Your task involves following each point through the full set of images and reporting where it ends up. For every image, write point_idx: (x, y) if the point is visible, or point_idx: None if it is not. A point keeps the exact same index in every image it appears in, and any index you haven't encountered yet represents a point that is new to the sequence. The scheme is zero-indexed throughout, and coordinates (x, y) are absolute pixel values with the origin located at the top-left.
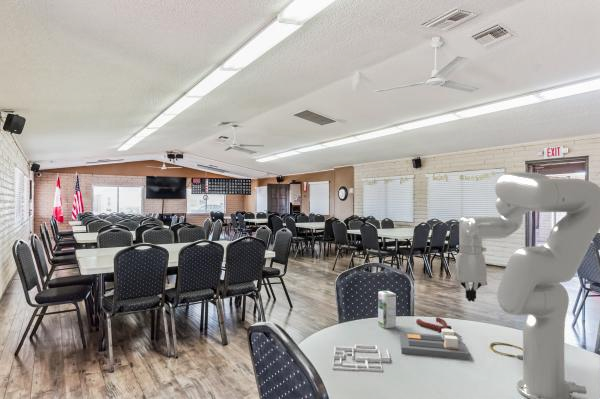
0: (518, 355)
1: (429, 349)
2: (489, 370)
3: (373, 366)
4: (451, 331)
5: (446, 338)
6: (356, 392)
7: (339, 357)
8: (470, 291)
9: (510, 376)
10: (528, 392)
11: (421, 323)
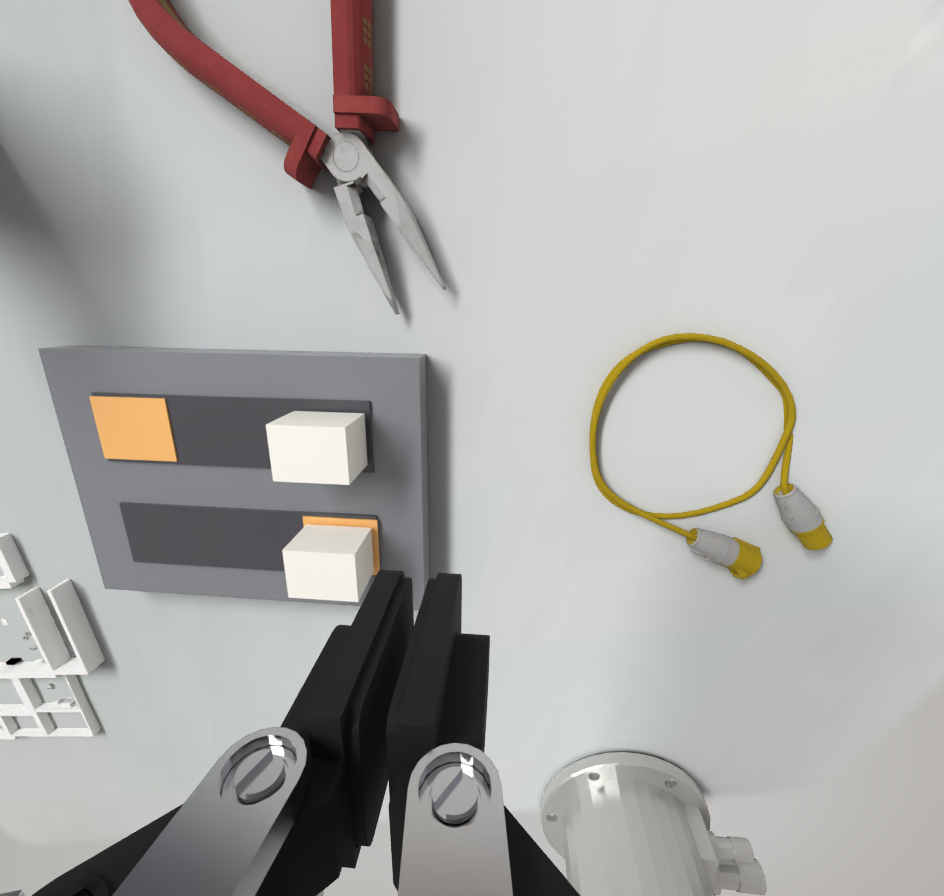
0: (697, 545)
1: (235, 590)
2: (492, 676)
3: (58, 708)
4: (332, 472)
5: (294, 596)
6: (70, 838)
7: None
8: (358, 848)
9: (560, 711)
10: (561, 841)
11: (149, 31)
